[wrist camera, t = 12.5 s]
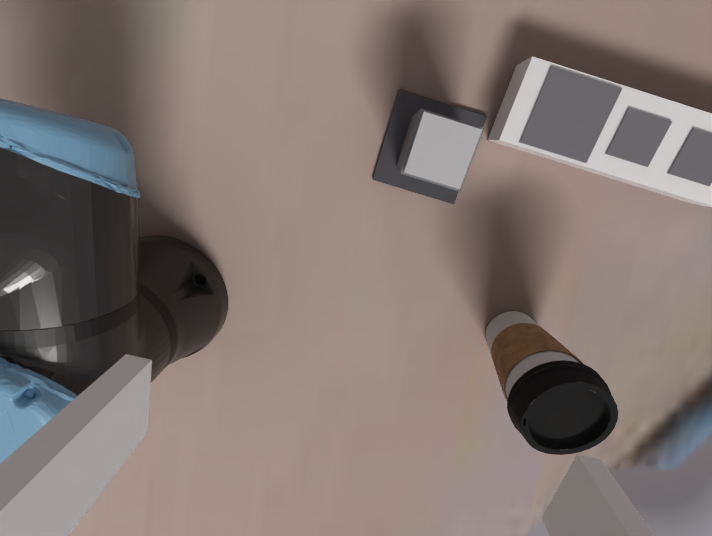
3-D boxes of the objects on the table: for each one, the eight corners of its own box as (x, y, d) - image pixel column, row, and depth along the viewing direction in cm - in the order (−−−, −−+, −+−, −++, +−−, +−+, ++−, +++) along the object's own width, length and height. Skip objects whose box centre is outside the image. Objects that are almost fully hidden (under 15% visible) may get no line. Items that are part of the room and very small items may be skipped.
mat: (372, 179, 40) (372, 179, 39) (399, 89, 37) (399, 89, 36) (453, 203, 40) (453, 204, 40) (485, 116, 37) (486, 116, 37)
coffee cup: (476, 300, 43) (522, 378, 29) (552, 300, 43) (636, 379, 29) (472, 363, 46) (512, 461, 32) (542, 364, 46) (615, 464, 31)
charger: (396, 166, 39) (400, 174, 29) (412, 116, 37) (422, 107, 28) (442, 180, 39) (461, 192, 29) (459, 131, 37) (486, 127, 28)
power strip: (487, 140, 38) (501, 139, 33) (516, 65, 35) (536, 54, 31) (752, 222, 39) (802, 233, 34) (797, 154, 36) (857, 156, 32)
